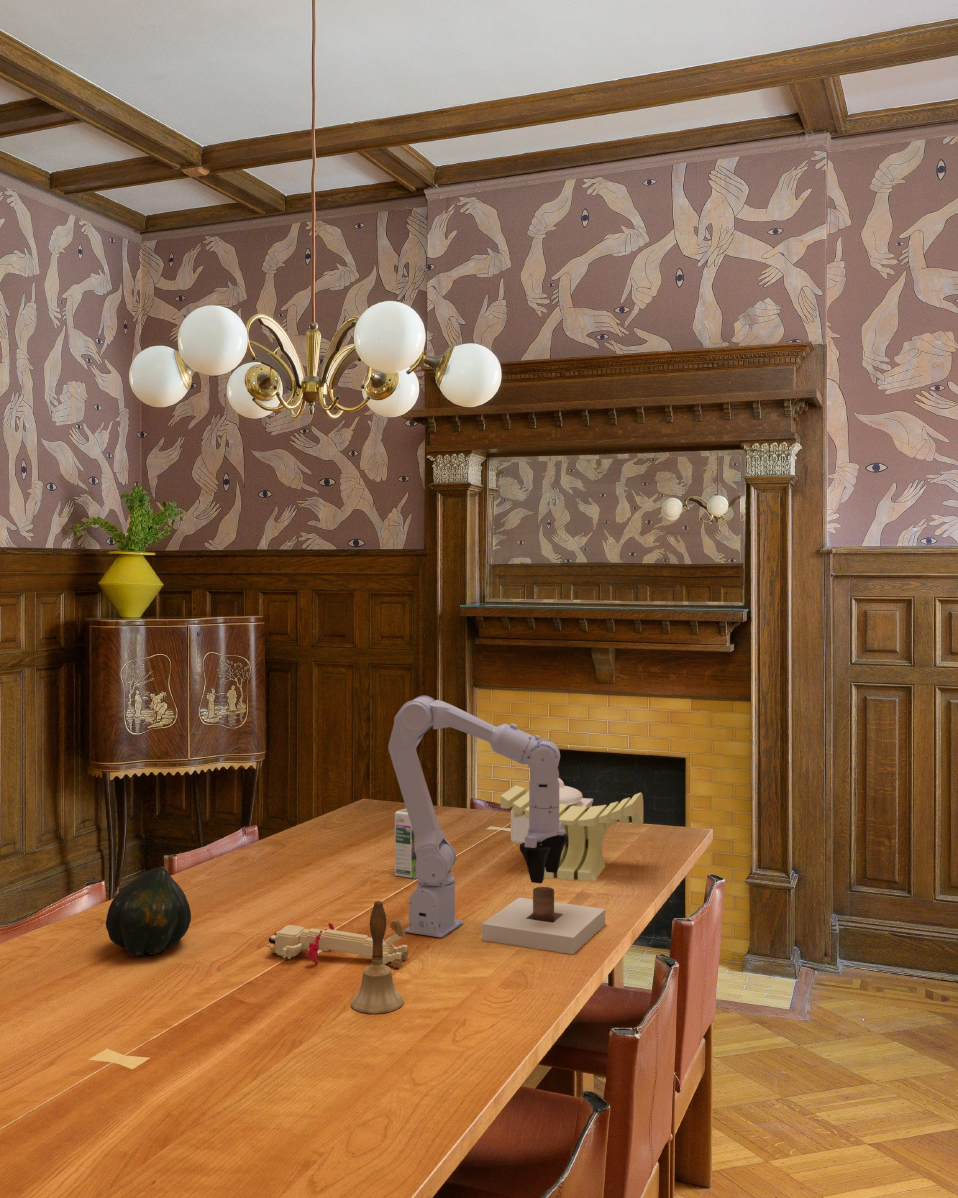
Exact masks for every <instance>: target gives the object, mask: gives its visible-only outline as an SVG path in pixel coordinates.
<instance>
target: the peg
mask: <svg viewBox="0 0 958 1198" xmlns="http://www.w3.org/2000/svg"><path fill="white" fill-rule="evenodd" d="M532 899H533V920H538V921H545V922H552V923H553V922H554V902H555V889H554V888H553V887H549V886H538V887H537V886H536V887H535V888H533V889H532Z"/></svg>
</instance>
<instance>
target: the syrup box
mask: <svg viewBox="0 0 958 1198" xmlns="http://www.w3.org/2000/svg"><path fill="white" fill-rule="evenodd" d="M414 847H415V836H414V832H413V829H412V826H411V822H410V819H409V816H408V812H407V809H406V808H403V809H402V808H401V809H399V810H397V811H396V812H395V813H394V876H395V877H403V878H408V879H410V878H411V879H414V880H415V879H417V877H418V876H417V874H416V869H415V865H416V853H415V848H414Z"/></svg>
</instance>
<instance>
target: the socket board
mask: <svg viewBox="0 0 958 1198" xmlns="http://www.w3.org/2000/svg"><path fill="white" fill-rule="evenodd" d="M605 925H606V909H605V908H602V907H601V908H600V907H593V906H586V905H578V904H572V903H564V902H558V901H554V922H553V923H552V922H545V921H538V920H533V898H525V897H518V898H517V899H515V900H513V902H511V903H509V904H507V905H506V906H505V907H504V908H502V909H501V910H499V911H498V912H497V913H495V914H493V915H492V916H491V917H489V918H488V919H486V920H485V921H484V922H482V923H481V934H480V935H481V941H483V942H484V941H485V942H490V943H498V944H505V945H511V946H516V947H524V948H528V949H529V948H530V949H536V950H542V951H549V952H556V953H563V954H566V955H568V954H569V955H575V954H576V953H577V952H578V951H579V950H580V949H581V948H582V947H583V946H584V945H586V943H587V942H589V941H590V940H591V939H592V938H593V937H594V934H595V935H596V934H597V933H598V932H599V931H600V930H602V928H603V927H604V926H605ZM601 927H602V928H601ZM597 931H598V932H597ZM596 932H597V933H596Z"/></svg>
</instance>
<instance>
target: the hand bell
mask: <svg viewBox="0 0 958 1198" xmlns="http://www.w3.org/2000/svg"><path fill="white" fill-rule="evenodd" d="M369 917H370V918H369V933H370V935H371V938H372V940H373V952H372V954H373V955H372V958H371V964H370V965H367V966H366V967H365V968H364V969H363V971H362V977H361V984H360V987H359V989H358V992H357V993H356V994H355V995H354V996H353V997H352V998H351V1001H350V1006H351V1008H353V1010H355V1011H358V1012H360V1013H365V1014H376V1015H377V1014H385V1013H390V1012H395V1011H396V1010H399V1009H400V1008H401V1007H402V1006H403V1005H404V1003H405V1001H404V999H403V997H402V995H401V994H400V993H399V992H398V991H397V989H396V987H395V985H394V981H393V973H392V969H391V967H389V966H388V965H387V964H383V959H382V958H383V955H382V954H383V940H384V938H385V935H386V930H387V915H386V912H385V908H384V903H383V901H380V900H376V901H374V904H373V907H372V910H371V913H370V916H369Z"/></svg>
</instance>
